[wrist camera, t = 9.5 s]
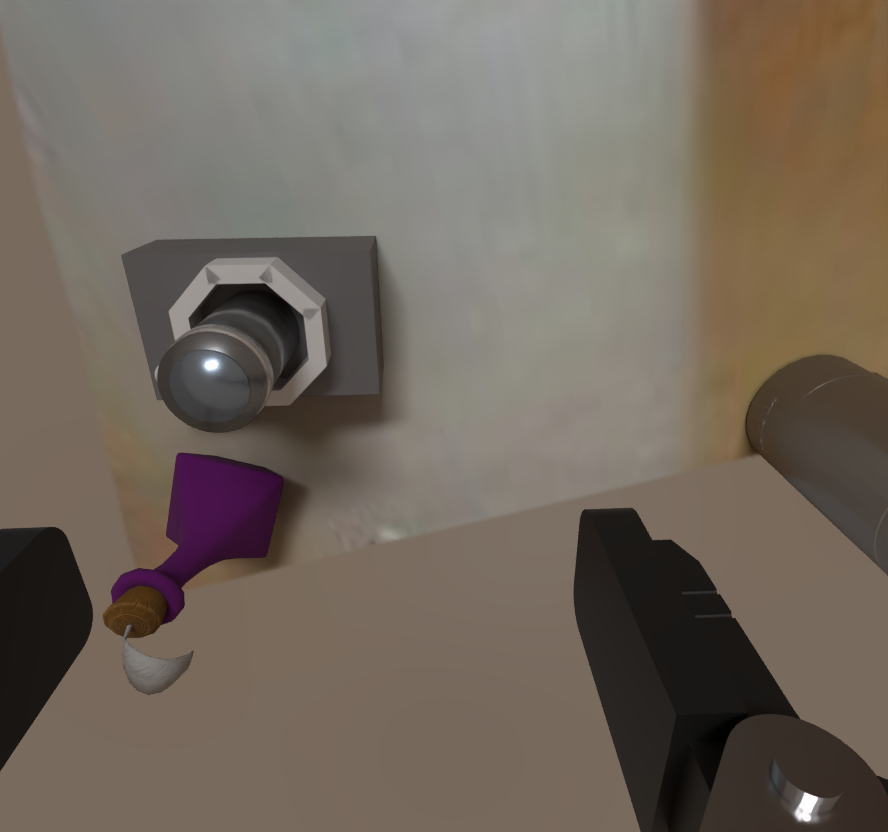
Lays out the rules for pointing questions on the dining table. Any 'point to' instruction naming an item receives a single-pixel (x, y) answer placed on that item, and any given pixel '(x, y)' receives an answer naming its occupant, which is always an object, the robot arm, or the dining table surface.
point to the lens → (229, 362)
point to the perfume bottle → (192, 553)
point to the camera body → (283, 274)
